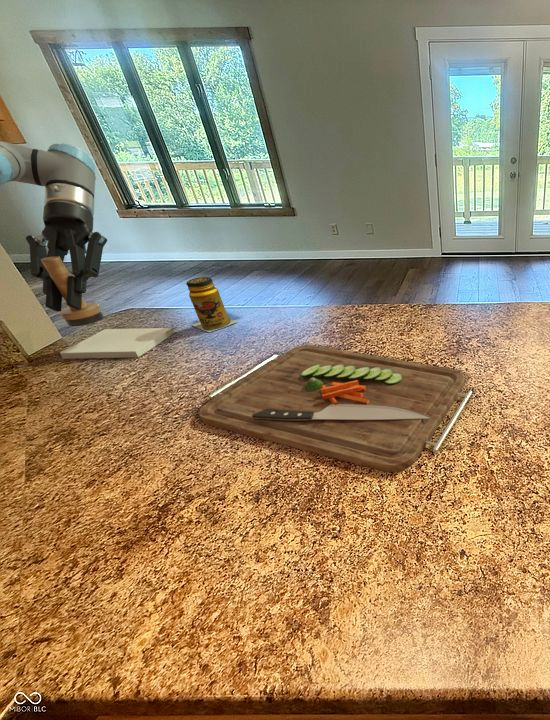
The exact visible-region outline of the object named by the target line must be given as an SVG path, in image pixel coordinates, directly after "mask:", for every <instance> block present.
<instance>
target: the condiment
mask: <svg viewBox="0 0 550 720" xmlns="http://www.w3.org/2000/svg"><path fill="white" fill-rule="evenodd" d="M186 286H187V290H188V291H189V293H188V296H189V299H190V302H191V303H192V305H193V308H194V312H195V314H196V315H197V318H198V320H199V322H197V323H194V324H192V325H191V326H192V327H195V328H197V329H199V330H201V331H203V332H206V333H211V332H214V331H218V330H221V329H223V328H226V327H228V326H231V325H233V324H236V323H239V321H237V320H234V319H232V318H230V317H229V315H228V313H227V311H226V307H225V305H224V302H223V300H222V298H221V294H220V292H219V289H218V288H217V287H216V286H215V283H214V281H213V279H212V277H210V276H200V277H195V278H191V279H188V280H187V281H186Z"/></svg>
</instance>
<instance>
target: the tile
mask: <svg viewBox="0 0 550 720" xmlns="http://www.w3.org/2000/svg"><path fill="white" fill-rule="evenodd" d="M174 334H175V331H174V328H173V327H140V328H104V329H102V330H101V331H99V332H97V333H95V334H93V335H91V336H89V337H87V338H85V339H84V340H82V341H79V342H78V343H76V344H74V345H71V346H70V347H68V348H66V349H65V350H64V349H63V351H60V352H59V355H60V356H61V357H62V359H63V360H66V359H67V360H69V359H70V360H71V359H116V358H117V359H119V358H120V359H121V358H140V357H141V356H143V355H144V354H146V353H147V352H148V351H150V350H152V349H153V348H155V347H156V346H158V345H159V344H161V343H163V342H164V341H165V340H167V339H169V338H170V337H171V336H173V335H174Z"/></svg>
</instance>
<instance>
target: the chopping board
mask: <svg viewBox="0 0 550 720" xmlns="http://www.w3.org/2000/svg"><path fill="white" fill-rule="evenodd" d="M465 381H466V380H465V376H464V374H463V373H462V372H461V371H459V370H456V369H452V368H447V367H441V366H436V365H429V364H425V363H424V364H423V363H419V362H411V361H407V360H400V359H396V358H395V359H394V358H390V357H389V358H388V357H383V356H377V355H371V354H365V353H359V352H353V351H347V350H343V349H337V348H331V347H324V346H318V345H311V344H306V345H300V346H296V347H293V348H292V349H290V350H288V351H287V352H285V353H283V354H282V355H280V356H279V355H278V354H274V355H272V356H271V357H269V358H267V359H266V360H264V361H263V362H261V363H260V364H258V365H256V366H255V367H253V368H251V369H250V370H248V371H247V372H245V373H243V374H241V375H240V376H239V377H237V378H235V379H234V380H232V381H230V382H228V383H227V384H226V385H224V386H222V387H221V388H219V389H217V390H216V391H215V392H213V393H211V394H210V395H208V399H210V400H209V401H208V402H206V403H205V404H204V405H203V406H202V407H201V408H200V410H199V411H198V416H199V418H200V420H201V422H202V423H203V424H205V425H208V426H212V427H216V428H219V429H223V430H226V431H230V432H234V433H238V434H241V435H245V436H248V437H253V438H256V439H261V440H264V441H268V442H271V443H274V444H275V443H276V444H280V445H283V446H287V447H290V448H294V449H298V450H301V451H305V452H309V453H312V454H317V453H318V454H317V455H321V456H325V457H328V458H333V459H336V460H340V461H343V462H346V463H347V462H348V463H350V464H355V465H359V466H362V467H366V468H370V469H374V470H378V471H382V472H386V473H387V472H388V473H395V472H401V471H404V470H407V469H408V468H410V467H412V465H413V464H414V463H415V462H416V461H417V460H418V458H419V457H420V456H421V454H422V453H423V451H424V449H425V448H426V446H432V452H433V453H435V454H437V453H438V452H439V451H440V448H441V446H442V445H443V443H444V441H445V440H446V439H447V436H448V435H449V433H450V432H451V430H452V428H453V426H454V425H455V423H456V421H457V420H458V419H459V416H460V415H461V413H462V411H463V409H464V408H465V407H466V405H467V403H468V401H469V400H470V398H471V396H472V394H473V391H472V390H467V393H462V390H463V389H464V387H465V384H464V383H465ZM462 388H463V389H462ZM458 397H463V399H462V401H461V402H460V404H459V405H458V407H457V408H456V410H455V411H454V413H453V416H452V417H451V419H450V420H449V422H448V423H447V425H446V427H445V428H444V430H443V432H442V433H441V435H440V436H439V438H438V440H437V441H436V442H435V441H430V440H431V438H432V437H433V435H434V434H435V432H436V430H437V429H438V427H439V426H440V424H441V423H442V421H443V420H444V418H445V416H446V415H447V413H448V412H449V411H450V408H451V407H452V406H453V404H454V402H455V401H456V400H457V398H458ZM409 466H410V467H409ZM407 467H408V468H407Z"/></svg>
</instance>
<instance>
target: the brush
mask: <svg viewBox="0 0 550 720" xmlns="http://www.w3.org/2000/svg"><path fill="white" fill-rule="evenodd" d="M41 261H42V263H43V265H44V266H45V268H46V270H47V271H48V273H49V275H50V276H51V278H52V280H53V281H54V283H55V285H56V287H57V288H58V290H59V292H60V293H61V295H62V299H63V300H64V302H65V303H66V301H67V284H68V276H71V273H70V272H69V270H68V269H67V267H66V266H65V264H64V261H63V262H62V260H61V258H60V257H58V256H54V257H47V258H43V259H41ZM59 315H60V316H61V318H62V319H63V320H64V321H65V322H66V324H67V326H69V327H82V326H87V325H92V324H94V323H98V322H100V321H101V320H103V319H104V318H105V316H104V313H103V312H102V308H101V306H100V304H99V303H97V302H86V301H85V299H84V297H83V296H82V305H81V309H80V310H76V309H74V308H72V307H70V306H68V305H67V307H65V308H62V309H61V311H59Z"/></svg>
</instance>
